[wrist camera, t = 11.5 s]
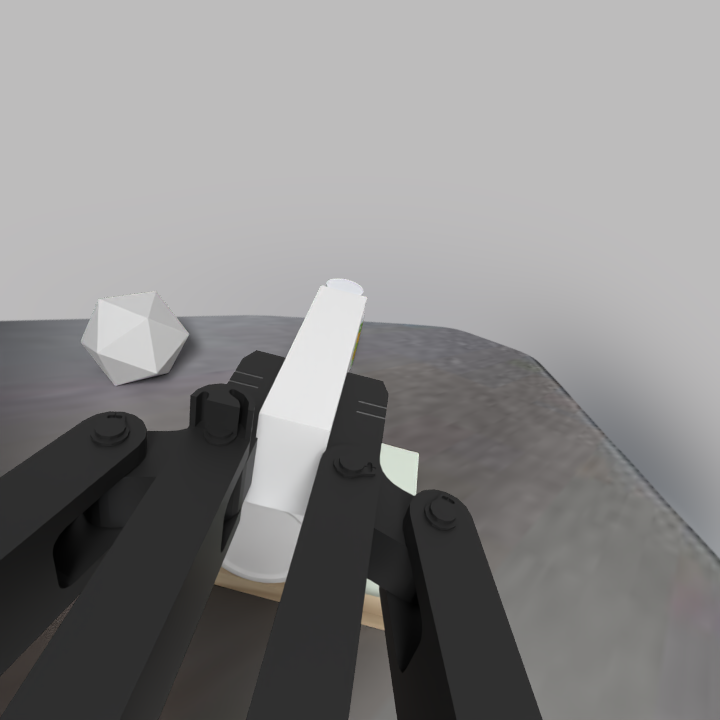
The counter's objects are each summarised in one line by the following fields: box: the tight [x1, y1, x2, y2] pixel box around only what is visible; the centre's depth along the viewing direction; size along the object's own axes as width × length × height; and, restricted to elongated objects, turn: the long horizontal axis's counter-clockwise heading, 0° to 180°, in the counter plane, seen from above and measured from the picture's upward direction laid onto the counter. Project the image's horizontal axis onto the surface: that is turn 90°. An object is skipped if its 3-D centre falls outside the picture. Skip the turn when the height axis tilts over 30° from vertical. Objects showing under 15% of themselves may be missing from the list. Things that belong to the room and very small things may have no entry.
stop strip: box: [214, 566, 385, 630], centre depth 33 cm, size 1×16×2 cm, turn 82°
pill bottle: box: [222, 493, 304, 583], centre depth 37 cm, size 8×8×15 cm
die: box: [81, 291, 189, 386], centre depth 47 cm, size 8×9×10 cm
